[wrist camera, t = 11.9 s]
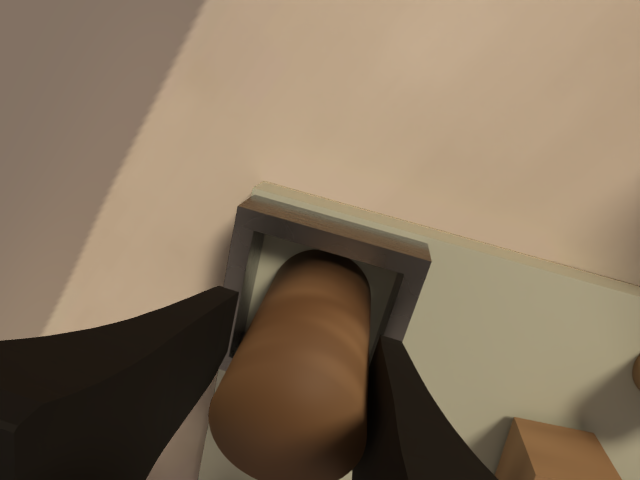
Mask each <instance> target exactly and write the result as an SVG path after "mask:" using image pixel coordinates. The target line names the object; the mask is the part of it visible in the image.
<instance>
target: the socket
mask: <svg viewBox="0 0 640 480" xmlns="http://www.w3.org/2000/svg"><path fill="white" fill-rule="evenodd" d="M265 234H267V235H271V236H274V237H278V238H281V239H285V240H288V241H291V242H295V243H298V244H302V245H305V246H309V247H312V248H316V249H319V250H322V251H326V252H329V253H333V254H336V255H340V256H343V257H347V258H350V259H353V260H357V261H360V262H364V263H367V264H371V265H374V266H378V267H381V268H385V269H388V270H391V271H395V272H398V273H397V276H396V279H395V282H394V285H393V288H392V291H391V294H390V297H389V300H388V302H387V305H386V308H385V311H384V314H383V317H382V320H381V323H380V326H379V329H378V332H377V335H376V338H375V341H374V344H373V347H372V350H371V353H370V356H369V366H370V363H371V360H372V357H373V354H374V351H375V348H376V345H377V342H378V339H379V336H380V335H383V336H386V337H389V338H393V339H396V340H399V341H402V342H403V339H404V336H405V334H406V331H407V328H408V325H409V323H410V320H411V317H412V314H413V312H414V309H415V306H416V303H417V301H418V298H419V295H420V292H421V290H422V287H423V284H424V282H425V279H426V276H427V273H428V271H429V268H430V265H431V262H432V260H431V256H430V252H429V247H428V243H424V242H421V241H417V240H414V239H410V238H407V237H403V236H400V235H396V234H392V233H389V232H385V231H382V230H378V229H375V228H371V227H368V226H364V225H361V224H357V223H354V222H350V221H347V220H343V219H339V218H336V217H332V216H329V215H325V214H322V213H318V212H315V211H311V210H308V209H304V208H301V207H297V206H294V205H290V204H286V203H283V202H279V201H276V200H272V199H269V198H265V197H262V196H258V195H253V196H252V197H250V198H249V199H247V200H246V201H244V202H243V203H242V204H240V205H239V206H238V208H237V213H236V219H235V225H234V230H233V236H232V241H231V247H230V252H229V258H228V264H227V269H226V275H225V280H224V286H223V287H224V288H228V289H231V290H234V291H237V292H239V295H238V301H237V306H236V311H235V316H234V321H233V326H232V331H231V337H230V342H229V347H228V352H227V354H226V356H225V358H224V359H223V361H222V363H221V365H220V367H219V369H220V370H223V371H226V370H227V368H228V367H229V365H230V363H231V361H232V359H233V357H234V355H235V353H236V351H237V349H238V347H239V345H240V343H241V341H242V339H243V337H244V336H245V334H246V332H245V327H246V323H247V318H248V313H249V308H250V303H251V299H252V294H253V289H254V284H255V279H256V274H257V270H258V265H259V260H260V255H261V250H262V246H263V241H264V236H265Z"/></svg>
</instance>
